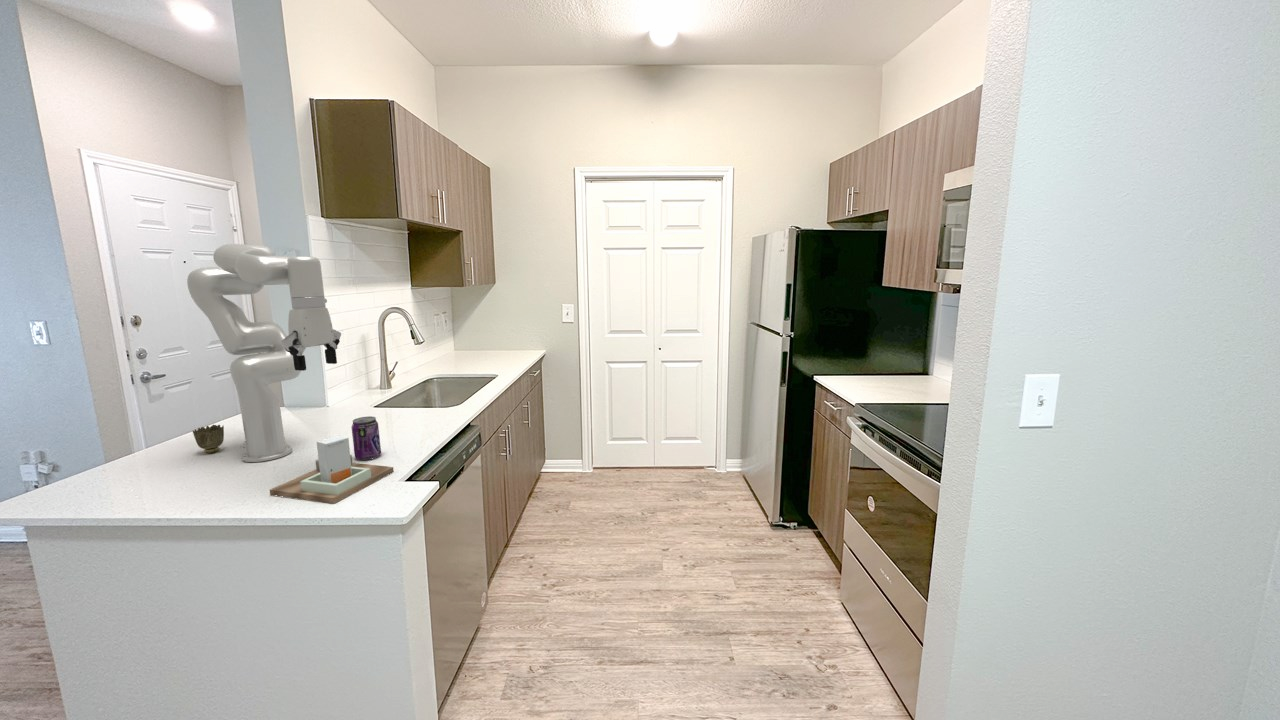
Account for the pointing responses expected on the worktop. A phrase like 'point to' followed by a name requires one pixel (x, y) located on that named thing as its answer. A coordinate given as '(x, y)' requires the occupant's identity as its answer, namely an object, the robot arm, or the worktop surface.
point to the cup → (209, 438)
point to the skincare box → (334, 459)
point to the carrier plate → (295, 491)
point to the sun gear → (318, 464)
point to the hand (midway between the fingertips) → (316, 366)
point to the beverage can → (366, 438)
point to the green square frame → (335, 489)
